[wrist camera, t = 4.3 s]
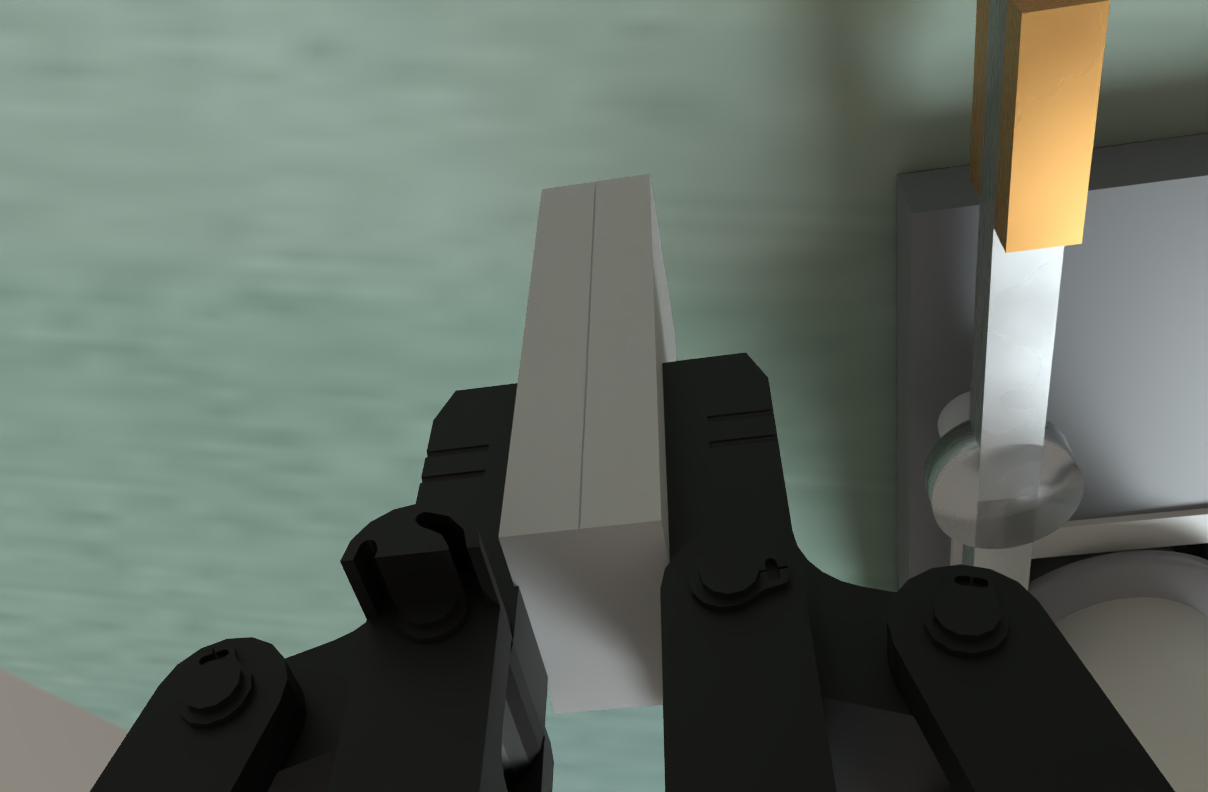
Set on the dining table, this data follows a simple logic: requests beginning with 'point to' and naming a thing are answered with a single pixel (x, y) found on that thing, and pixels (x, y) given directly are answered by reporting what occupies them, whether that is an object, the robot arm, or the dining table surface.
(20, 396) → the dining table surface
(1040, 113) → the clip
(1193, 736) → the plug
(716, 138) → the dining table surface
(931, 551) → the grey slotted tray
